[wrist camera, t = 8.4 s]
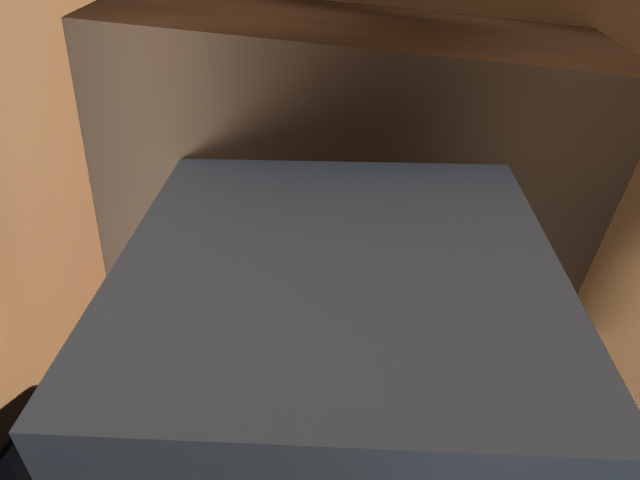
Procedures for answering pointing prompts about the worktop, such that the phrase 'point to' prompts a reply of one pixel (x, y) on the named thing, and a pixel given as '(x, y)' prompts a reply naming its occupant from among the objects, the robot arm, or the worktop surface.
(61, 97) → the worktop surface
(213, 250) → the slate-blue cube
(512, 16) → the worktop surface
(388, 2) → the worktop surface
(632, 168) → the walnut block
